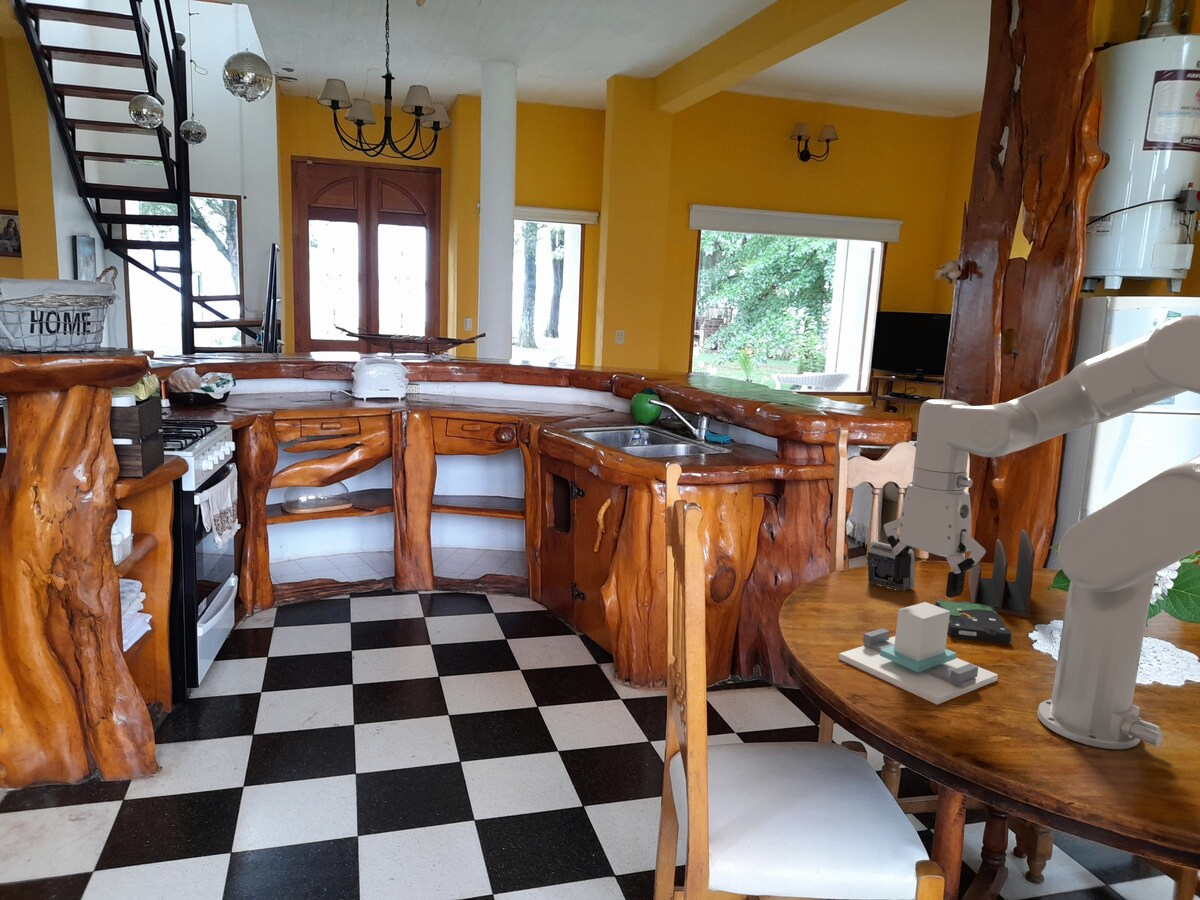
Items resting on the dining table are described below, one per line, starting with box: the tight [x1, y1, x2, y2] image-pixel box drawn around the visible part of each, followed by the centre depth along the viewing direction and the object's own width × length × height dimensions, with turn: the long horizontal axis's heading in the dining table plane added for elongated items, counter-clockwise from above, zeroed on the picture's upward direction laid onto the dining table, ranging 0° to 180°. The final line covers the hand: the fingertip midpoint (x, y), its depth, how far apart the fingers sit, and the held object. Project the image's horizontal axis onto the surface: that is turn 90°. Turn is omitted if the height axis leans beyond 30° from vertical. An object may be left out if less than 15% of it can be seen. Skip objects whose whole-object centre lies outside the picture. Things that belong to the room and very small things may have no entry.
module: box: [894, 601, 950, 661], centre depth 132 cm, size 5×7×7 cm
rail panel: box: [838, 627, 999, 705], centre depth 132 cm, size 18×16×3 cm
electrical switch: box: [866, 540, 916, 593], centre depth 172 cm, size 9×5×9 cm, turn 47°
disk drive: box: [934, 598, 1013, 646], centre depth 153 cm, size 10×3×15 cm
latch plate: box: [880, 646, 957, 672], centre depth 132 cm, size 7×10×1 cm
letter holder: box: [967, 528, 1036, 619], centre depth 168 cm, size 10×20×14 cm, turn 159°
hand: (926, 586), depth 130 cm, fingers open, 8 cm apart
